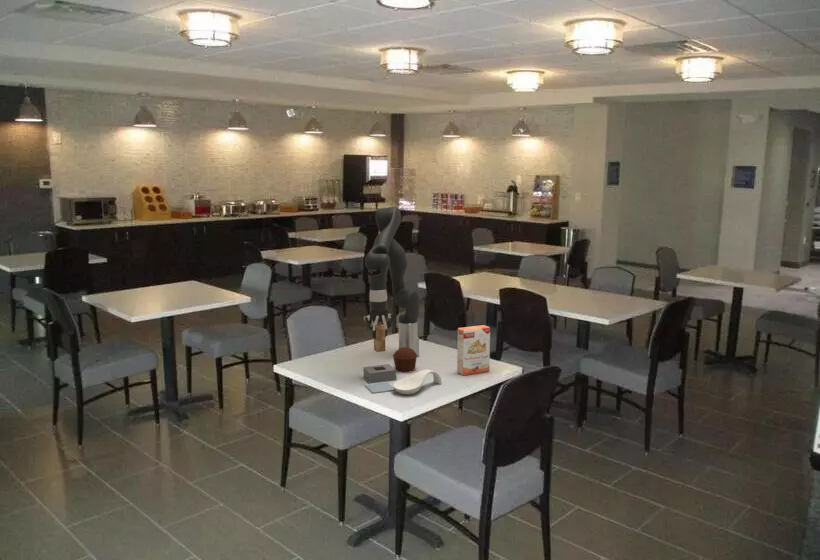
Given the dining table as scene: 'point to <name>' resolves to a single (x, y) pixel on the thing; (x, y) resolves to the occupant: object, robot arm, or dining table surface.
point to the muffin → (405, 359)
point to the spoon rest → (415, 382)
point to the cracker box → (473, 350)
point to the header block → (379, 373)
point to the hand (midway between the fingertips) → (379, 337)
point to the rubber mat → (380, 388)
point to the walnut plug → (380, 338)
